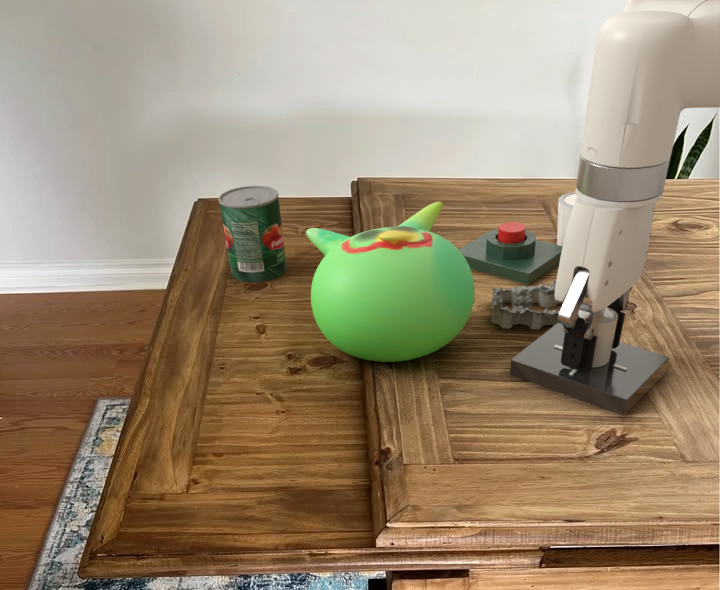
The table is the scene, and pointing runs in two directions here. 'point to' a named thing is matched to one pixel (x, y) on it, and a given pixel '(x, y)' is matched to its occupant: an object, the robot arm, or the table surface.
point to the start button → (511, 232)
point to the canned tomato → (253, 233)
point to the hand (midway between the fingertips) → (590, 354)
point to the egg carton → (525, 306)
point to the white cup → (564, 215)
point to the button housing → (512, 257)
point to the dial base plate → (591, 372)
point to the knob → (603, 334)
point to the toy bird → (391, 289)
